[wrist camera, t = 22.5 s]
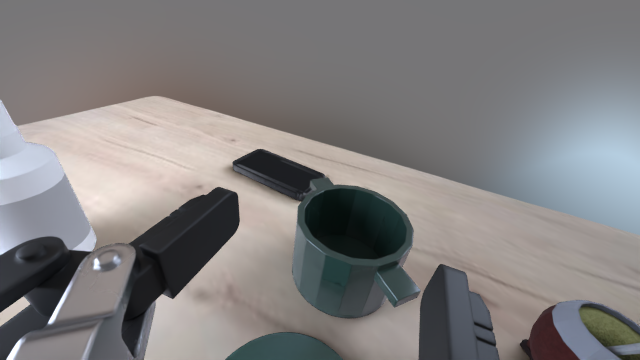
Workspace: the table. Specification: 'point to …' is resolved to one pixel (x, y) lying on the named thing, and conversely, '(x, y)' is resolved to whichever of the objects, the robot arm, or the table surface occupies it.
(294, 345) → the lid
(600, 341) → the mate gourd
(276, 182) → the phone
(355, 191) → the pot
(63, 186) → the white bottle
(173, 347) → the table surface
